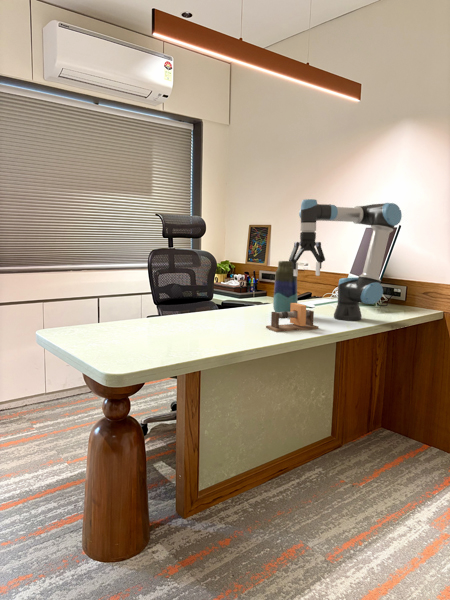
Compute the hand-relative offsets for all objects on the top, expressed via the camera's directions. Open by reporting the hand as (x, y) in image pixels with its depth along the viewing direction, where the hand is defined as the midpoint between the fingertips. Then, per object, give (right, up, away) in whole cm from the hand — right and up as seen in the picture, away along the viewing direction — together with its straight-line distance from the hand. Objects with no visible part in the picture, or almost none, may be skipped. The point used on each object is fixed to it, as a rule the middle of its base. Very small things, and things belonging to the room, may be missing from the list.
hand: (306, 275), depth 228 cm
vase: (-6, -21, +40) cm, 45 cm away
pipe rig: (-7, -26, +1) cm, 27 cm away
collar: (-4, -24, +2) cm, 24 cm away
